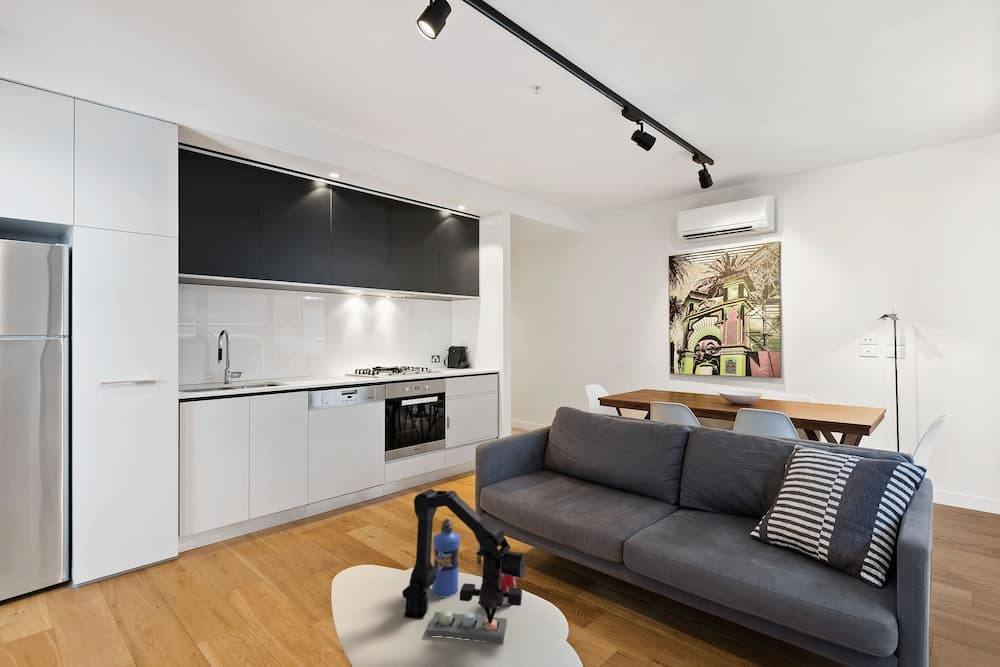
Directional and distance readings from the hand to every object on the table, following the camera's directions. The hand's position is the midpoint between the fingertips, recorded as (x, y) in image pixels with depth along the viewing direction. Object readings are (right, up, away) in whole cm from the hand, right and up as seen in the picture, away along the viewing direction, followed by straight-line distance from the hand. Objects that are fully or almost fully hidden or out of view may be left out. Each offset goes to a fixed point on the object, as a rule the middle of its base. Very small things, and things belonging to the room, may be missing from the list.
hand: (490, 622), depth 149 cm
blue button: (-7, -1, +1) cm, 7 cm away
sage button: (-14, -1, +2) cm, 14 cm away
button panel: (-7, -3, +1) cm, 8 cm away
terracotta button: (0, -3, 0) cm, 3 cm away
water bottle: (-17, -4, +25) cm, 30 cm away
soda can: (+5, -4, +18) cm, 19 cm away
